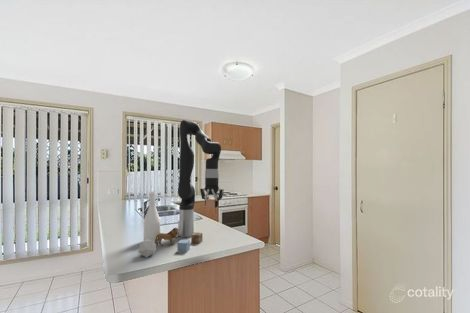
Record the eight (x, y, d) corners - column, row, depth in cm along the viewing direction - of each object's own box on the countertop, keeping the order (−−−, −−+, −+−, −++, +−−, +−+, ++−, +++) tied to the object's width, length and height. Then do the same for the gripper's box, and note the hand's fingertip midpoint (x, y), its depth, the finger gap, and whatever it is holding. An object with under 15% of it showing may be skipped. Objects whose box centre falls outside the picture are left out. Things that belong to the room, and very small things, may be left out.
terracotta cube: (205, 208, 133) (205, 199, 133) (209, 206, 138) (209, 198, 138) (214, 208, 131) (214, 199, 132) (217, 207, 136) (217, 198, 136)
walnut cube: (191, 243, 141) (191, 234, 141) (194, 240, 145) (194, 232, 146) (199, 243, 139) (199, 235, 140) (202, 241, 144) (202, 232, 144)
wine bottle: (163, 240, 146) (164, 191, 147) (152, 245, 137) (152, 192, 138) (151, 238, 150) (152, 190, 151) (140, 242, 141) (140, 192, 142)
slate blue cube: (177, 252, 126) (177, 242, 126) (180, 249, 131) (180, 239, 131) (186, 252, 125) (186, 243, 126) (189, 249, 130) (189, 240, 131)
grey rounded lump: (145, 252, 127) (134, 240, 123) (160, 244, 128) (149, 232, 124) (144, 264, 120) (133, 251, 115) (159, 255, 120) (149, 242, 116)
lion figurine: (177, 241, 144) (177, 226, 144) (179, 244, 139) (179, 228, 139) (152, 244, 137) (152, 229, 138) (153, 247, 133) (153, 231, 133)
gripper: (197, 177, 134) (197, 207, 133) (221, 177, 129) (220, 209, 129) (203, 176, 141) (203, 205, 140) (226, 176, 136) (226, 206, 136)
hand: (211, 206), depth 135 cm, fingers closed on terracotta cube, 5 cm apart
